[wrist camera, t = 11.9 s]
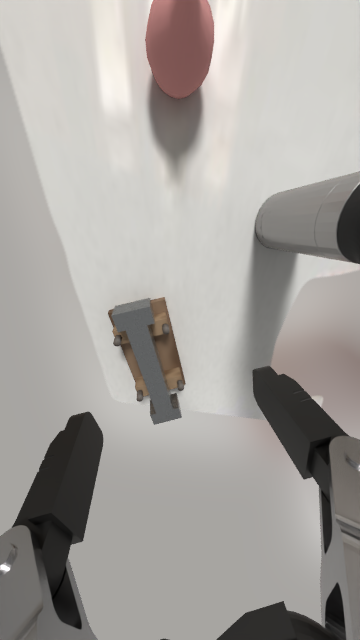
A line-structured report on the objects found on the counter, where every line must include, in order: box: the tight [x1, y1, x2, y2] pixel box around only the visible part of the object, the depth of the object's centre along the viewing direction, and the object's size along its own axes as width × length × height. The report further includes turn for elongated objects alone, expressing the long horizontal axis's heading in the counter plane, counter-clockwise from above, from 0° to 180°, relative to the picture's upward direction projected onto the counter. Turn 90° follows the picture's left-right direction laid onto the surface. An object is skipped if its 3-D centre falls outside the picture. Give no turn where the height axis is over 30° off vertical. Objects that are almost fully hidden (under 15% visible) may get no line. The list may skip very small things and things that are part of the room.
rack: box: [108, 297, 186, 401], centre depth 41 cm, size 11×22×6 cm, turn 11°
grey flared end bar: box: [111, 298, 181, 424], centre depth 38 cm, size 6×26×4 cm, turn 11°
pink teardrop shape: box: [145, 0, 214, 99], centre depth 20 cm, size 8×8×12 cm
